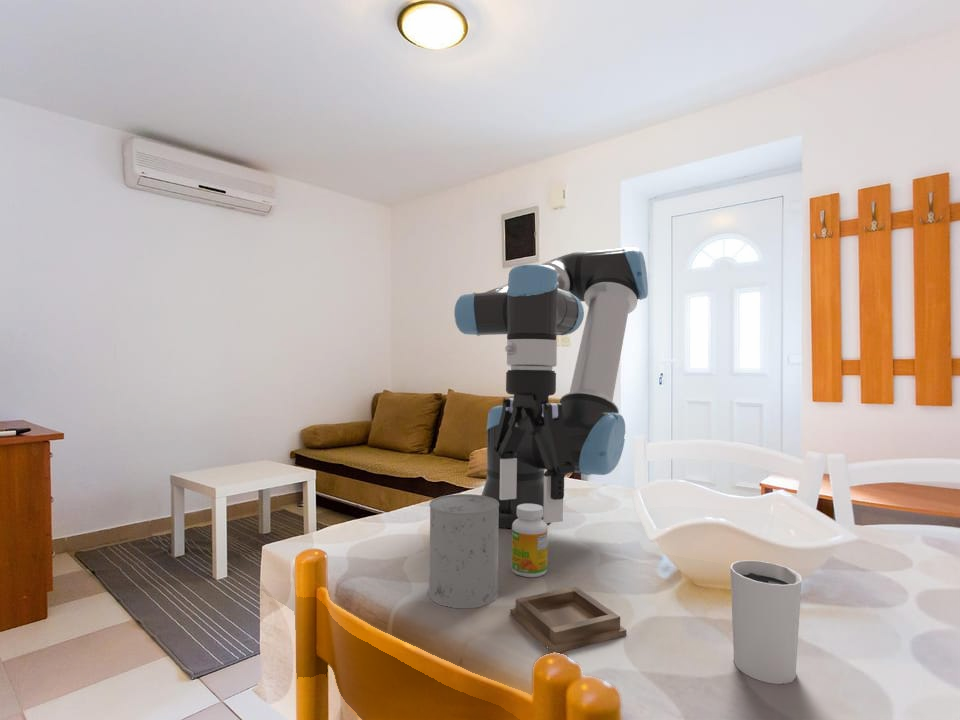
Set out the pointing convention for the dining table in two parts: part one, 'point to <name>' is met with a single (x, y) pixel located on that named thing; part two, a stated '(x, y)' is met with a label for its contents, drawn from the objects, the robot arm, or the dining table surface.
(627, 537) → the dining table surface
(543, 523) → the supplement bottle
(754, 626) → the white cup
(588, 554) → the dining table surface
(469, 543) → the gray concrete cylinder
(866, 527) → the dining table surface
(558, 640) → the walnut holder
